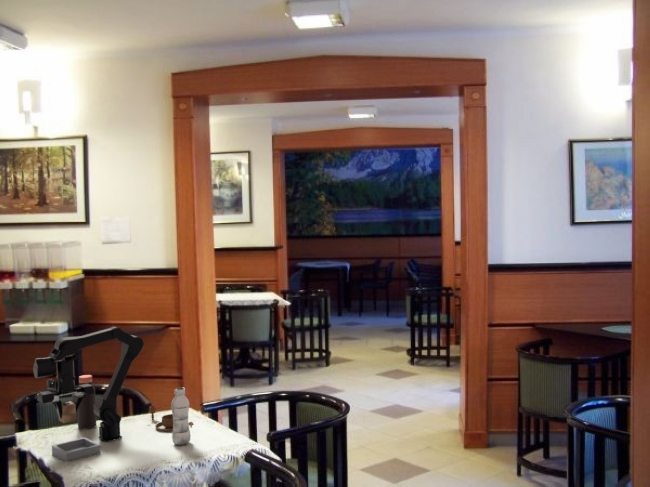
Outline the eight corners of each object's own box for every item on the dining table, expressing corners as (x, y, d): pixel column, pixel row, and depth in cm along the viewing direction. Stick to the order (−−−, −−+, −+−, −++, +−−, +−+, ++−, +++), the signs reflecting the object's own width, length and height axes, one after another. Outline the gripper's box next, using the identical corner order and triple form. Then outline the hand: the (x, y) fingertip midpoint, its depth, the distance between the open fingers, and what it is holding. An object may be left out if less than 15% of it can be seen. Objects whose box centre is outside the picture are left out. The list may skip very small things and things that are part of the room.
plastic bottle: (194, 442, 248) (192, 387, 247) (183, 448, 242) (181, 392, 241) (179, 440, 251) (178, 385, 250) (168, 445, 245) (166, 390, 244)
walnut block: (71, 417, 248) (70, 400, 248) (76, 420, 245) (75, 403, 245) (58, 420, 245) (58, 403, 245) (63, 423, 242) (62, 405, 242)
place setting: (147, 435, 258) (146, 420, 258) (147, 420, 278) (147, 406, 277) (194, 431, 262) (193, 416, 262) (191, 416, 282) (191, 402, 282)
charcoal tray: (85, 445, 247) (85, 437, 247) (100, 453, 238) (100, 445, 238) (52, 453, 239) (51, 445, 239) (66, 462, 230) (65, 453, 230)
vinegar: (89, 423, 274) (87, 373, 273) (100, 425, 270) (98, 375, 269) (74, 427, 268) (72, 377, 267) (85, 430, 264) (83, 379, 264)
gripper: (82, 365, 256) (83, 407, 257) (30, 374, 244) (32, 417, 245) (94, 370, 248) (96, 413, 249) (42, 379, 236) (43, 424, 236)
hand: (67, 417), depth 245 cm, fingers closed on walnut block, 4 cm apart
